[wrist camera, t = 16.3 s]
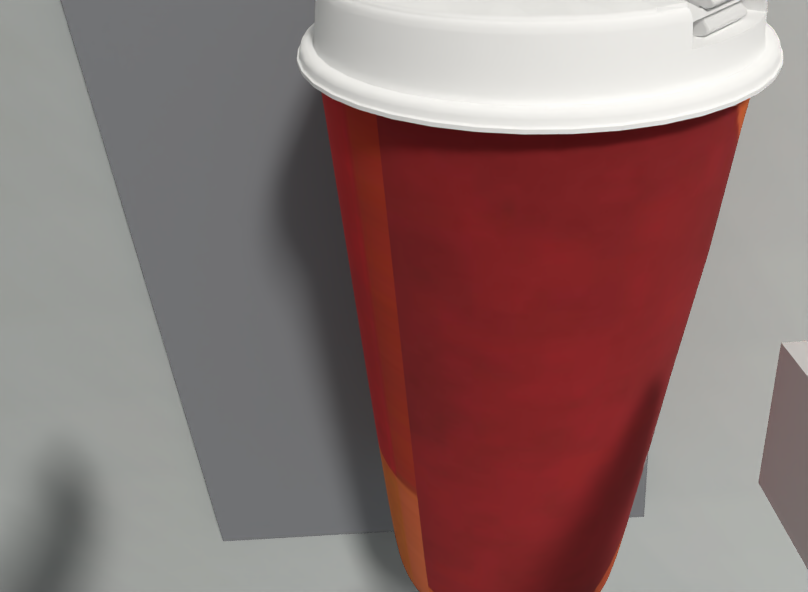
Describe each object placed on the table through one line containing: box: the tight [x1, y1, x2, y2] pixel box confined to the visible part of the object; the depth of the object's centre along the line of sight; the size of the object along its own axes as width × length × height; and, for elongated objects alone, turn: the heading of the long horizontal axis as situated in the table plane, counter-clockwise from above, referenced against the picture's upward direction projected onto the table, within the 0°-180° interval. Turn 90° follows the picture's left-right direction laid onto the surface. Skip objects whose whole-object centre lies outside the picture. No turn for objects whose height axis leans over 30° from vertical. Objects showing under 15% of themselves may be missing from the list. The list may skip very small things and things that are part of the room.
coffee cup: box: [297, 0, 783, 592], centre depth 17 cm, size 8×8×15 cm
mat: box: [61, 0, 648, 541], centre depth 20 cm, size 14×22×1 cm, turn 6°
